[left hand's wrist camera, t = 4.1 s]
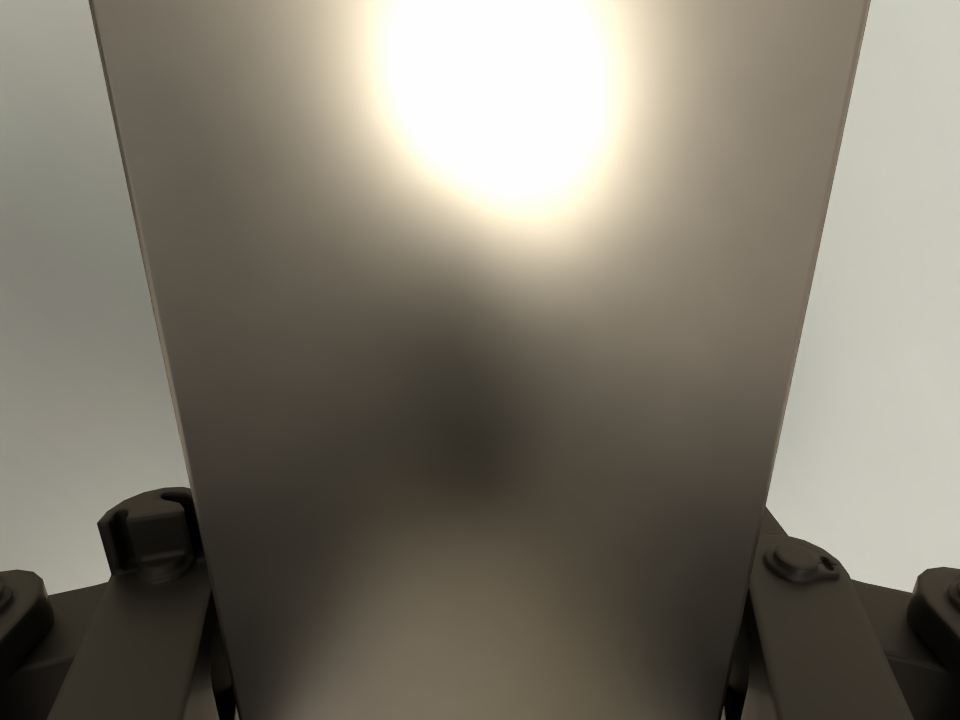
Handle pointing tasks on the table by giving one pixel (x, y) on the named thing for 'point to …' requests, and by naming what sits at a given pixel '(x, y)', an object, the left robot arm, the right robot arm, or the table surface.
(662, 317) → the bar
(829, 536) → the table surface
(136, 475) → the table surface
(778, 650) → the left robot arm
